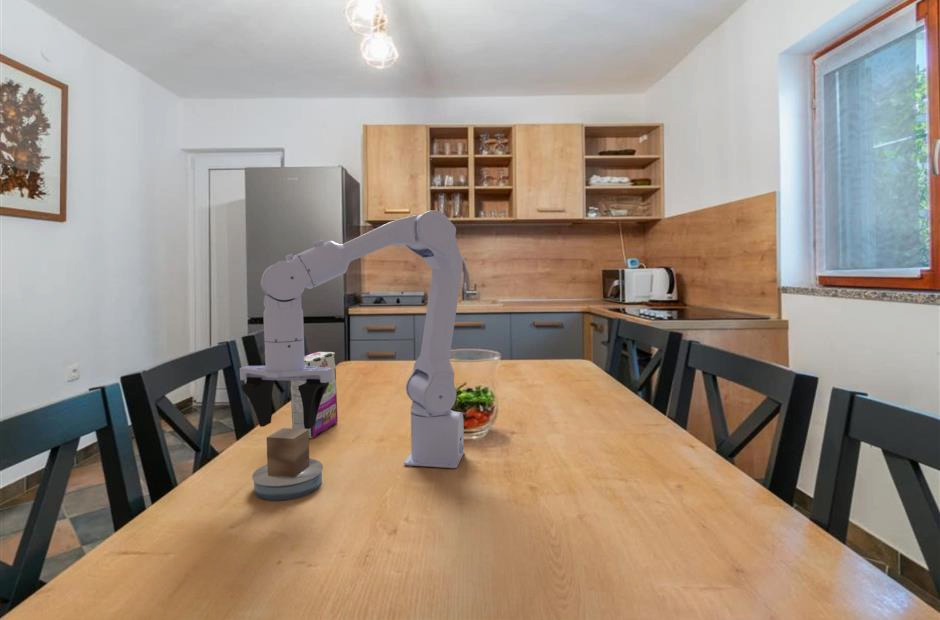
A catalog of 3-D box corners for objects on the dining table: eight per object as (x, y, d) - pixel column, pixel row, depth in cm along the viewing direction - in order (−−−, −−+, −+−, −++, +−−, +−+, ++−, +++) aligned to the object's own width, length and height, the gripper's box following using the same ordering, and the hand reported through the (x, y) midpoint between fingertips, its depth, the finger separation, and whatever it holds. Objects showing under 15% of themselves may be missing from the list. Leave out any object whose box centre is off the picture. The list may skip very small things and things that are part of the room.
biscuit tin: (334, 477, 79) (333, 459, 78) (303, 506, 68) (302, 486, 68) (277, 473, 80) (276, 456, 80) (238, 502, 70) (237, 482, 70)
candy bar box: (318, 421, 108) (316, 351, 107) (338, 423, 107) (336, 351, 106) (290, 438, 97) (288, 359, 96) (312, 439, 96) (310, 360, 95)
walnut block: (309, 465, 76) (308, 429, 76) (294, 477, 72) (293, 438, 71) (283, 464, 77) (282, 428, 76) (267, 475, 72) (266, 437, 72)
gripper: (225, 342, 70) (228, 431, 71) (315, 344, 68) (318, 436, 69) (254, 336, 77) (257, 418, 78) (337, 338, 75) (339, 421, 75)
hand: (287, 425), depth 74 cm, fingers open, 7 cm apart
